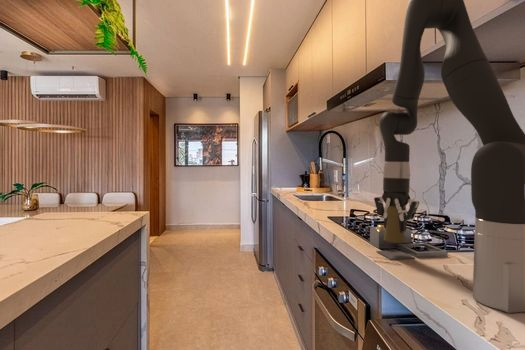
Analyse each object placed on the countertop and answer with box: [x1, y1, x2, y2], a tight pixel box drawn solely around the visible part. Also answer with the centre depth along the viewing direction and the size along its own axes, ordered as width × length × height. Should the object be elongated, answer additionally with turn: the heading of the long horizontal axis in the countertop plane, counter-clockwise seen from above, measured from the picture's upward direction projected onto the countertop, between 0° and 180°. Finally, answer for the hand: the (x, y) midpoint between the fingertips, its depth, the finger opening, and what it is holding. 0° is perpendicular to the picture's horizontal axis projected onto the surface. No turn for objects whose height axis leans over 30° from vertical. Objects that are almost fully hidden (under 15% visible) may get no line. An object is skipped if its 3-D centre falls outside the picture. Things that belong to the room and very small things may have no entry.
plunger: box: [376, 224, 385, 230], centre depth 107 cm, size 3×3×5 cm
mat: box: [376, 249, 416, 261], centre depth 96 cm, size 8×8×1 cm
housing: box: [369, 226, 449, 259], centre depth 102 cm, size 17×17×6 cm
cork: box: [384, 206, 405, 243], centre depth 95 cm, size 6×6×11 cm
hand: (394, 231), depth 95 cm, fingers closed on cork, 4 cm apart
